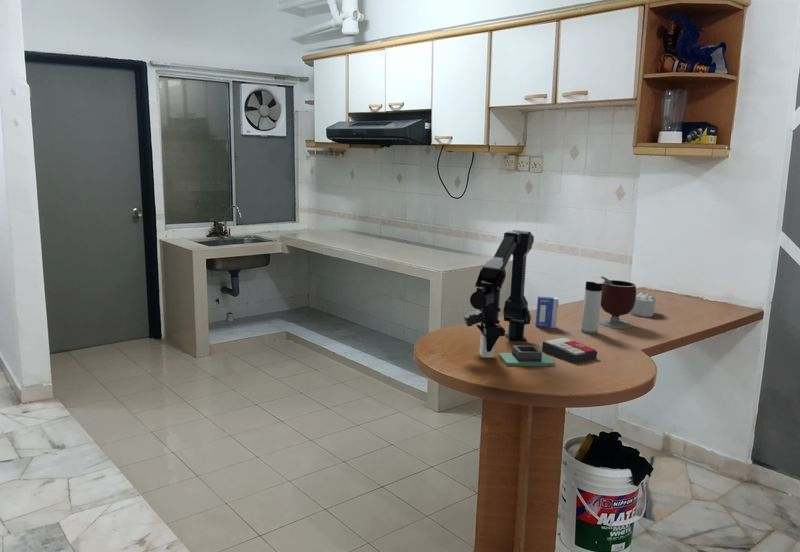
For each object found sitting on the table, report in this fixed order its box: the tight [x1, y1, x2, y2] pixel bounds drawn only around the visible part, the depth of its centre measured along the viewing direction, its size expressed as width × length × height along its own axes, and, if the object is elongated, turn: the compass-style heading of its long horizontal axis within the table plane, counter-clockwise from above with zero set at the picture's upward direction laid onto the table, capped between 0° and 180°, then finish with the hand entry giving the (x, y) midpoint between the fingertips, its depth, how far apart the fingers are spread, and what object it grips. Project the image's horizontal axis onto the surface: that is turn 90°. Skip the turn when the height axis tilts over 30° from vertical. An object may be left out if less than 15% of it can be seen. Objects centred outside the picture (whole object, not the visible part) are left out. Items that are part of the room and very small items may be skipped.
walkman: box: [535, 296, 559, 329], centre depth 260 cm, size 8×3×12 cm, turn 84°
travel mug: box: [580, 280, 603, 335], centre depth 254 cm, size 6×7×20 cm
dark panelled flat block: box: [541, 337, 598, 364], centre depth 226 cm, size 11×4×15 cm
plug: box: [478, 332, 497, 358], centre depth 220 cm, size 4×5×8 cm
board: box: [498, 345, 556, 367], centre depth 217 cm, size 10×16×4 cm, turn 96°
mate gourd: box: [598, 276, 637, 329], centre depth 268 cm, size 16×14×20 cm
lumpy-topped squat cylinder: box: [627, 292, 657, 318], centre depth 291 cm, size 10×13×9 cm
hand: (487, 349), depth 220 cm, fingers closed on plug, 4 cm apart
